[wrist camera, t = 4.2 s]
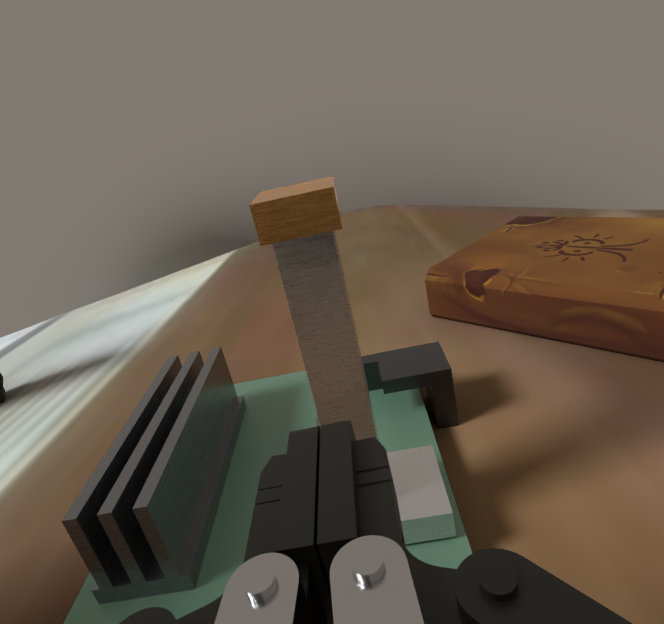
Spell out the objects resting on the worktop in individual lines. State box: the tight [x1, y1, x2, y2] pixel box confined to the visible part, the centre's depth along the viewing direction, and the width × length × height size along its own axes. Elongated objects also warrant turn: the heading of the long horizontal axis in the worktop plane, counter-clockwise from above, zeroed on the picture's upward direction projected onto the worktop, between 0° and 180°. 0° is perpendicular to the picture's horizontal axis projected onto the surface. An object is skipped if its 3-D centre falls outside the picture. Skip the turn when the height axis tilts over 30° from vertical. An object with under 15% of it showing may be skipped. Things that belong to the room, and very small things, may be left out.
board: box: [63, 371, 472, 624], centre depth 32 cm, size 22×20×2 cm
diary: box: [425, 216, 664, 362], centre depth 46 cm, size 23×19×6 cm
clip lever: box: [249, 176, 456, 544], centre depth 23 cm, size 5×6×17 cm
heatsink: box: [62, 342, 459, 604], centre depth 31 cm, size 17×20×7 cm
